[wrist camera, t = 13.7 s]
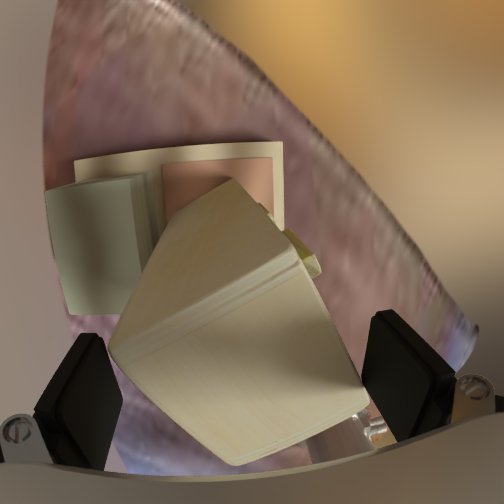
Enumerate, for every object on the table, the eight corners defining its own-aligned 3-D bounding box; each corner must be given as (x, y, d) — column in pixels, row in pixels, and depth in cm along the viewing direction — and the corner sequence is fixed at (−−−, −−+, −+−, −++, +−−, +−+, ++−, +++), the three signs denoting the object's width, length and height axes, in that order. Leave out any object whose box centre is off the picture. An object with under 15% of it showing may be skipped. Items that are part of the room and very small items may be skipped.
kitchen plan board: (276, 142, 30) (307, 138, 20) (278, 272, 35) (304, 323, 24) (85, 159, 28) (31, 166, 18) (103, 283, 33) (66, 335, 22)
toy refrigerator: (283, 244, 30) (388, 399, 10) (217, 281, 31) (229, 471, 11) (242, 172, 28) (314, 226, 8) (173, 212, 28) (94, 348, 8)
